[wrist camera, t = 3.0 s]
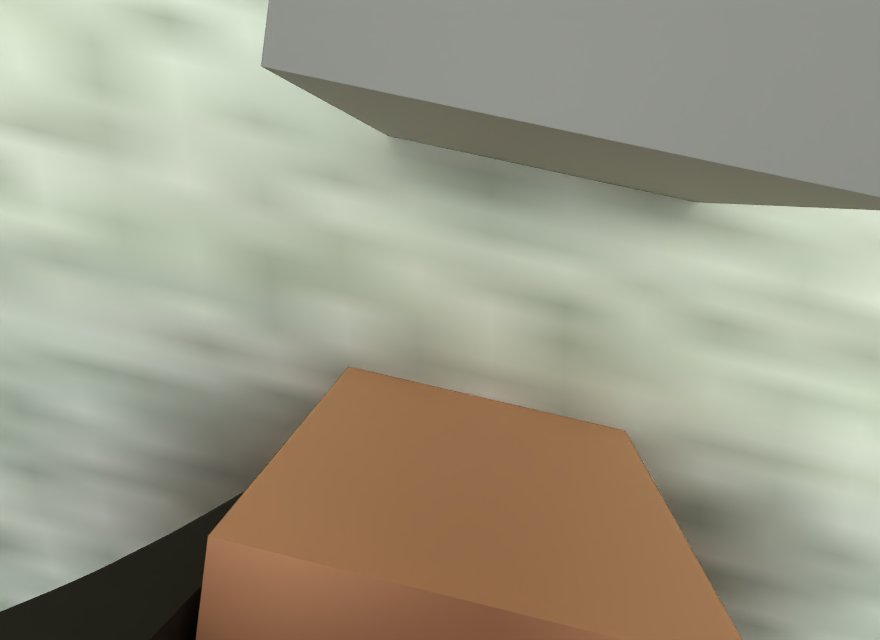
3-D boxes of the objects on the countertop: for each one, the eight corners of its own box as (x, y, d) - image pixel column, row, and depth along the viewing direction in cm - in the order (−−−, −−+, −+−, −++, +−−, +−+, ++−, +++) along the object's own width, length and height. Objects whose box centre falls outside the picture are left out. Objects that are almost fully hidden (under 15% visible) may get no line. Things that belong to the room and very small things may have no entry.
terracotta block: (551, 656, 11) (601, 1039, 6) (308, 595, 11) (162, 914, 6) (624, 429, 10) (761, 673, 5) (349, 365, 10) (207, 535, 5)
